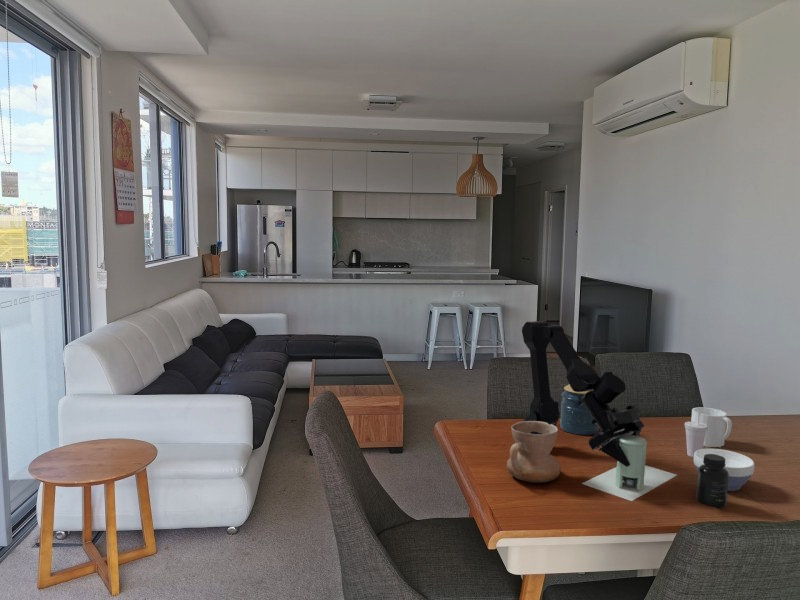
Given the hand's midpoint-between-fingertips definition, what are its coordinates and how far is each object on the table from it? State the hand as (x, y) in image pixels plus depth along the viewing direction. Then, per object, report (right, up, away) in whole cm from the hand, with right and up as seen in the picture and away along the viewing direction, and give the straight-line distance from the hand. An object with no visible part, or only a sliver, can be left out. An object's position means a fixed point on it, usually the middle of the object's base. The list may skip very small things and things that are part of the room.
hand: (636, 462), depth 162 cm
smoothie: (+28, -5, +28) cm, 40 cm away
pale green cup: (-1, -6, +2) cm, 7 cm away
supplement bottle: (+16, -9, -6) cm, 20 cm away
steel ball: (-1, -5, +2) cm, 6 cm away
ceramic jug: (-26, -6, +8) cm, 28 cm away
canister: (0, -2, +51) cm, 51 cm away
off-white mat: (+1, -7, +7) cm, 10 cm away
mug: (+39, -4, +39) cm, 55 cm away
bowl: (+25, -8, +5) cm, 27 cm away
